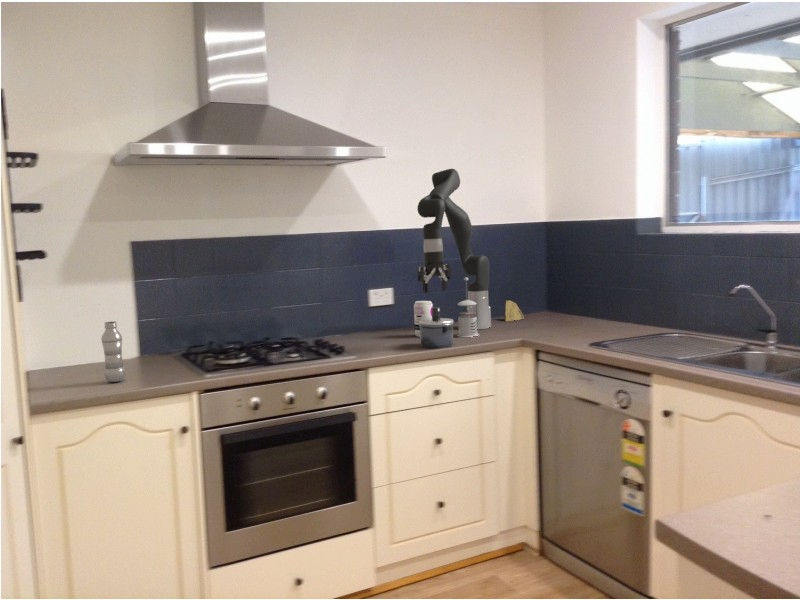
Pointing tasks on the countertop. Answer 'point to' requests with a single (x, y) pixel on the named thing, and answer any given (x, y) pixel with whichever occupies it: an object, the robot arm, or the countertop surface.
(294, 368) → the countertop surface
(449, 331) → the pot
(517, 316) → the yellow wedge
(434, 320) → the lid
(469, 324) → the french press
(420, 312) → the supplement can
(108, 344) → the plastic bottle
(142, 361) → the countertop surface
